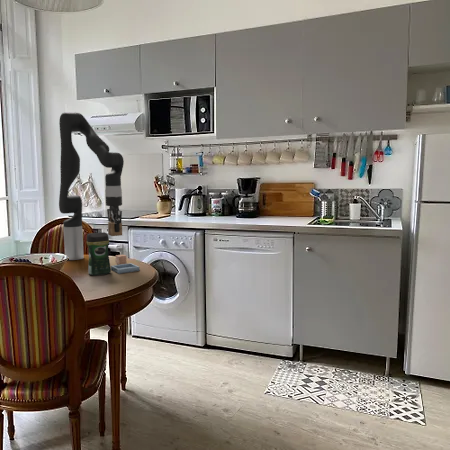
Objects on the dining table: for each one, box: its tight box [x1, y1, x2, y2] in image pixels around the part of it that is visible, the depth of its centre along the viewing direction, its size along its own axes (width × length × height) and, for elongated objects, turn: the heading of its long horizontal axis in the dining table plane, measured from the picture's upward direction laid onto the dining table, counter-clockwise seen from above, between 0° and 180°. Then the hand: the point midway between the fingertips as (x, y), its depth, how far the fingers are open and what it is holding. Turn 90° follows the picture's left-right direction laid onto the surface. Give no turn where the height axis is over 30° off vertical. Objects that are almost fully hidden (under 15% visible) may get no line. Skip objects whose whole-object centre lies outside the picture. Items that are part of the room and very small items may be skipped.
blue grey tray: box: [110, 262, 141, 275], centre depth 199 cm, size 10×10×2 cm
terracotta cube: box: [115, 254, 128, 265], centre depth 214 cm, size 4×4×4 cm
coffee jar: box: [86, 231, 112, 276], centre depth 191 cm, size 10×8×19 cm
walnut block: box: [107, 221, 123, 237], centre depth 203 cm, size 5×5×6 cm
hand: (115, 231), depth 203 cm, fingers closed on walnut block, 5 cm apart
